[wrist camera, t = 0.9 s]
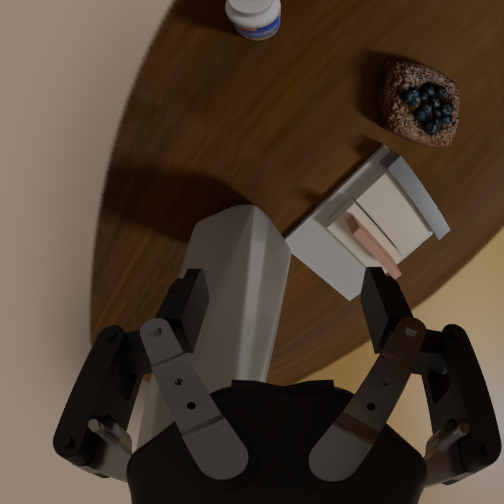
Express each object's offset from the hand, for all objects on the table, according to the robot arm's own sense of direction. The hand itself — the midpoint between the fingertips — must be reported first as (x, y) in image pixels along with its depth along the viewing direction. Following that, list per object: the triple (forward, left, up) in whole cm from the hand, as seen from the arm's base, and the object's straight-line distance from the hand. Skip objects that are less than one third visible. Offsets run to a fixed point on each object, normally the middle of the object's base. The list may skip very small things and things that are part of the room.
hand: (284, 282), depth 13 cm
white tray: (-2, +16, -24) cm, 29 cm away
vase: (+10, +3, -24) cm, 26 cm away
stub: (-1, +16, -23) cm, 28 cm away
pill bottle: (-12, -14, -24) cm, 31 cm away
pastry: (-19, +7, -24) cm, 32 cm away
